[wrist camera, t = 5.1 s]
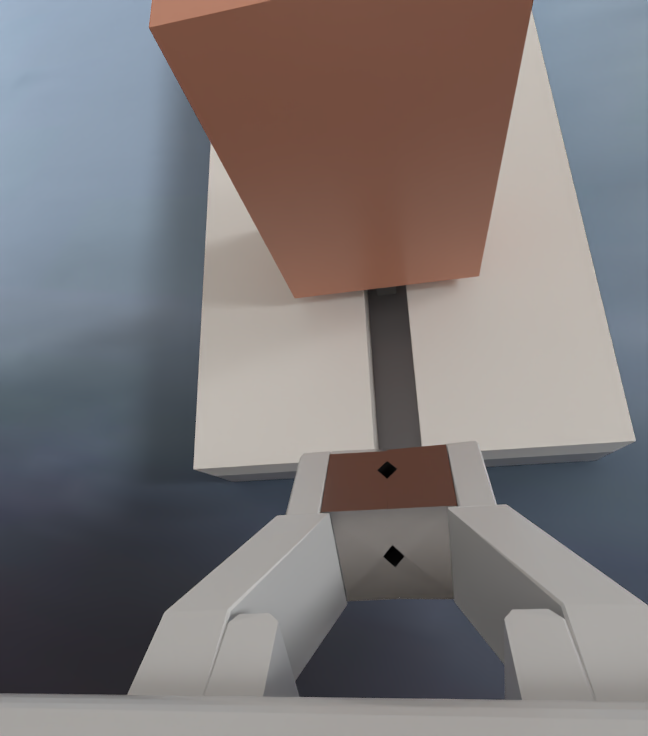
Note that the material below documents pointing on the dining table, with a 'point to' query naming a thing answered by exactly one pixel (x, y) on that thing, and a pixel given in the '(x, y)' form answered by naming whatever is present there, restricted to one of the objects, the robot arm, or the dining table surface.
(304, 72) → the fader
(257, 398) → the white slider track base
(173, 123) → the dining table surface
